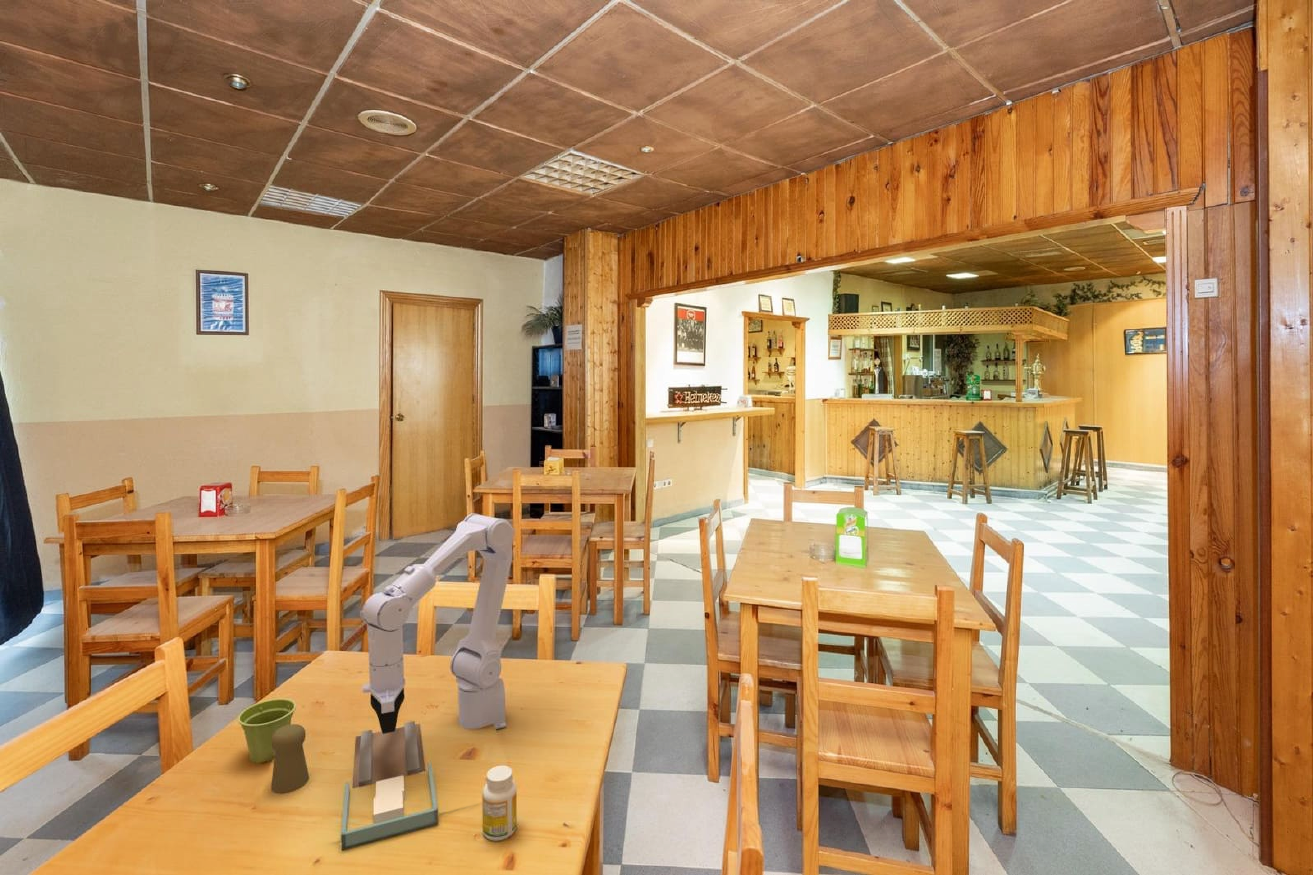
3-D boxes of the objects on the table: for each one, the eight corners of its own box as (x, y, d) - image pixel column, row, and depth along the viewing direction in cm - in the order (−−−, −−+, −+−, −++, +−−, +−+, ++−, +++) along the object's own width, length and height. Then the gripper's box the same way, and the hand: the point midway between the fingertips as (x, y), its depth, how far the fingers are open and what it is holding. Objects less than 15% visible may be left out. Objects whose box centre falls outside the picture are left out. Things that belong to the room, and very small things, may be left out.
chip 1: (403, 787, 108) (403, 775, 108) (404, 802, 104) (404, 790, 104) (376, 793, 106) (376, 781, 106) (376, 809, 102) (375, 797, 102)
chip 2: (402, 803, 104) (402, 790, 103) (403, 820, 100) (403, 807, 99) (374, 810, 102) (373, 797, 102) (373, 827, 98) (373, 814, 98)
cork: (292, 801, 104) (289, 740, 103) (261, 796, 105) (259, 736, 105) (318, 779, 110) (315, 721, 109) (289, 775, 111) (286, 717, 110)
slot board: (420, 728, 127) (419, 719, 127) (425, 776, 111) (425, 766, 111) (355, 741, 122) (355, 732, 122) (352, 793, 106) (352, 783, 106)
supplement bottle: (495, 847, 95) (494, 788, 94) (475, 830, 98) (475, 774, 97) (523, 828, 99) (523, 772, 98) (503, 813, 102) (503, 758, 101)
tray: (431, 776, 111) (431, 763, 111) (438, 824, 99) (437, 809, 99) (345, 796, 106) (345, 782, 105) (341, 850, 94) (341, 835, 93)
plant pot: (308, 747, 120) (306, 705, 119) (260, 775, 111) (258, 729, 111) (277, 735, 124) (276, 694, 123) (228, 761, 115) (226, 717, 114)
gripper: (362, 647, 116) (365, 715, 117) (360, 681, 103) (363, 758, 104) (403, 641, 119) (405, 708, 120) (406, 673, 105) (408, 748, 107)
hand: (388, 730), depth 112 cm, fingers closed
